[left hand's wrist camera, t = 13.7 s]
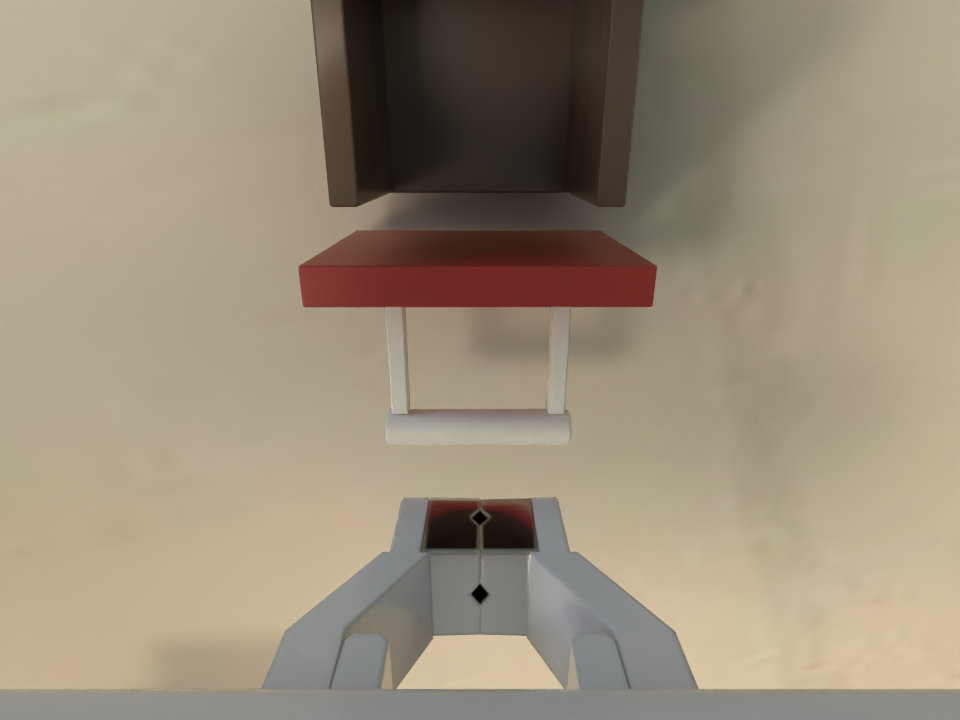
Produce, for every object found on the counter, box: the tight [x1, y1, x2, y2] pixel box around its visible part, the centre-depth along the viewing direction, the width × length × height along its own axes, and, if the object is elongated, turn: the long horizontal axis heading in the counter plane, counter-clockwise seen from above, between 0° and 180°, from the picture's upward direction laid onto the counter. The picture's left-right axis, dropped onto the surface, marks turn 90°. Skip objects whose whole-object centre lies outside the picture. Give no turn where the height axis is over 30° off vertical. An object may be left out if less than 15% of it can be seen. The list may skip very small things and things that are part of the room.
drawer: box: [299, 0, 657, 445], centre depth 17 cm, size 22×10×8 cm, turn 0°
